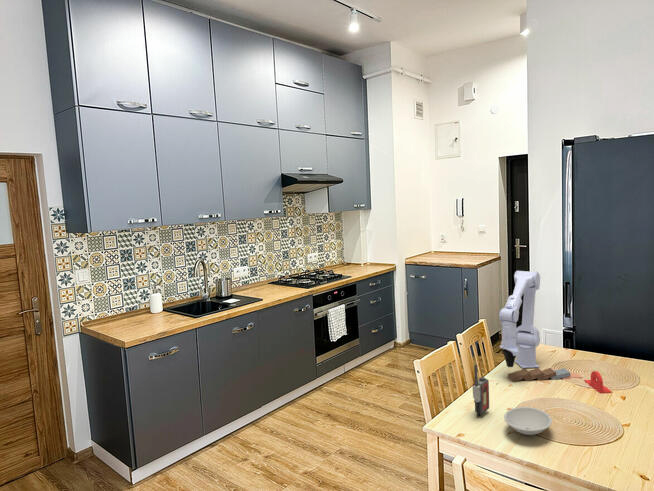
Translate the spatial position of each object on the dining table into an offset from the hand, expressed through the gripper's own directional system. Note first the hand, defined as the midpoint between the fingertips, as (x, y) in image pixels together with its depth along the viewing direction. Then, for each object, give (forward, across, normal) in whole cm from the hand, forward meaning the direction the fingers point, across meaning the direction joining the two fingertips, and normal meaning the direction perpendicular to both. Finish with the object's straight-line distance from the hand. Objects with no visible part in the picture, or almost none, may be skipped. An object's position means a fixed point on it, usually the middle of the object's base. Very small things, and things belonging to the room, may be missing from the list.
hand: (510, 366), depth 192 cm
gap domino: (+5, 0, +17) cm, 17 cm away
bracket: (+6, +12, +30) cm, 33 cm away
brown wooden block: (+5, 0, 0) cm, 5 cm away
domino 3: (+6, 0, +21) cm, 22 cm away
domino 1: (+5, 0, +5) cm, 7 cm away
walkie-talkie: (+6, +30, -22) cm, 38 cm away
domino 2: (+5, 0, +11) cm, 12 cm away
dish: (+6, +44, -10) cm, 46 cm away
